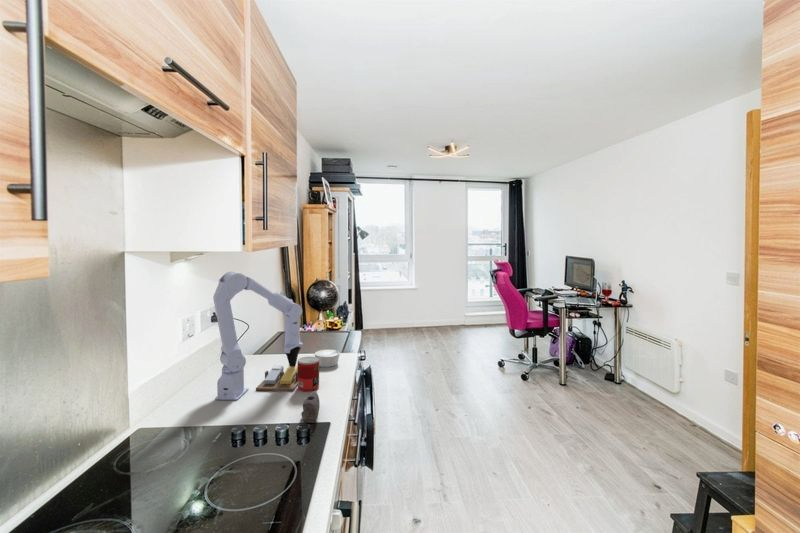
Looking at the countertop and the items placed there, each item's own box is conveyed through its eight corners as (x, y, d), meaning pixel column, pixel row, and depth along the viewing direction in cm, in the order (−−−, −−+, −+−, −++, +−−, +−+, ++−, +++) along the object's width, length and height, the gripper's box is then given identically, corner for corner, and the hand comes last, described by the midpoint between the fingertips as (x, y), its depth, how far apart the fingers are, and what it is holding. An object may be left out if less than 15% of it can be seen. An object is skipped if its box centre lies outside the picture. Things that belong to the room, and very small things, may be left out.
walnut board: (293, 391, 133) (293, 379, 133) (255, 390, 133) (255, 379, 133) (305, 375, 149) (305, 365, 149) (271, 375, 149) (271, 364, 149)
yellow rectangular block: (291, 384, 136) (290, 379, 136) (279, 383, 136) (279, 379, 136) (298, 369, 146) (298, 365, 146) (288, 369, 146) (287, 365, 146)
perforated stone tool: (306, 405, 122) (306, 385, 122) (322, 404, 123) (322, 384, 122) (299, 427, 107) (299, 405, 107) (317, 426, 108) (317, 404, 107)
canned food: (317, 391, 133) (317, 362, 132) (295, 392, 133) (295, 362, 132) (320, 383, 141) (320, 356, 140) (299, 384, 140) (299, 356, 140)
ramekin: (340, 367, 160) (340, 355, 160) (314, 369, 157) (314, 357, 157) (338, 359, 171) (338, 348, 171) (314, 361, 168) (314, 350, 168)
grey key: (275, 383, 136) (275, 379, 136) (264, 383, 136) (263, 379, 136) (283, 369, 146) (283, 365, 146) (273, 369, 146) (273, 365, 146)
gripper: (297, 337, 137) (297, 372, 138) (307, 328, 151) (307, 359, 152) (278, 336, 137) (278, 371, 138) (290, 328, 151) (290, 359, 152)
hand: (292, 365), depth 145 cm, fingers closed
